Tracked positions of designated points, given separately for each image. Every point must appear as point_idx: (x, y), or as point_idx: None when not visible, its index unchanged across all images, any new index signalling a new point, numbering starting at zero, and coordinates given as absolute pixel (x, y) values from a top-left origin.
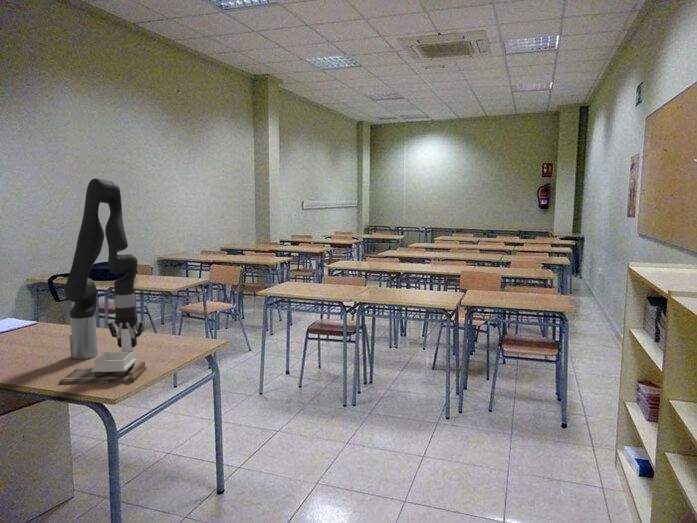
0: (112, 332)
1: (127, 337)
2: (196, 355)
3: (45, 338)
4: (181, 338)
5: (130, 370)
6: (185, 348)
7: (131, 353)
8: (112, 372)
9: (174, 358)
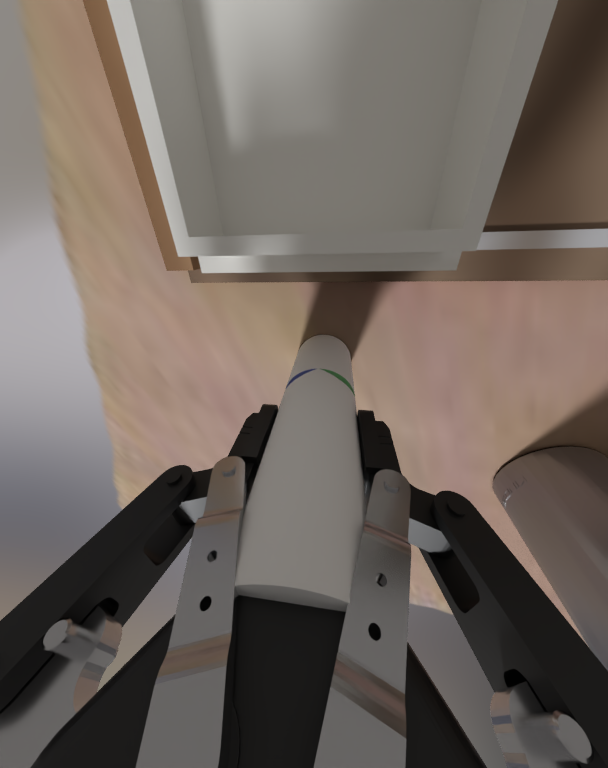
0: (490, 559)
1: (280, 461)
2: (112, 430)
3: None
4: None
5: None
6: None
7: (158, 182)
8: None
9: (166, 411)
